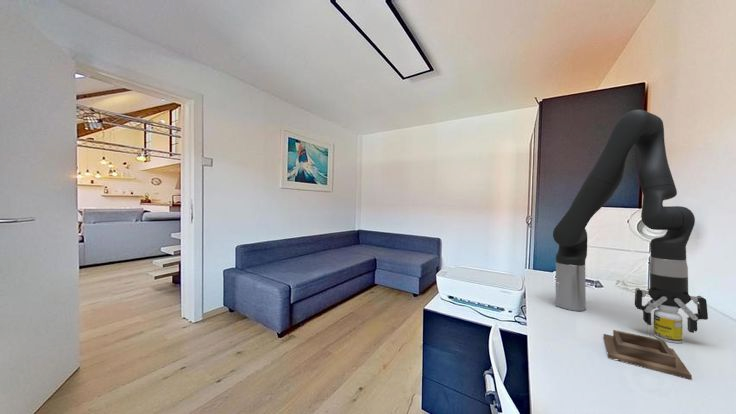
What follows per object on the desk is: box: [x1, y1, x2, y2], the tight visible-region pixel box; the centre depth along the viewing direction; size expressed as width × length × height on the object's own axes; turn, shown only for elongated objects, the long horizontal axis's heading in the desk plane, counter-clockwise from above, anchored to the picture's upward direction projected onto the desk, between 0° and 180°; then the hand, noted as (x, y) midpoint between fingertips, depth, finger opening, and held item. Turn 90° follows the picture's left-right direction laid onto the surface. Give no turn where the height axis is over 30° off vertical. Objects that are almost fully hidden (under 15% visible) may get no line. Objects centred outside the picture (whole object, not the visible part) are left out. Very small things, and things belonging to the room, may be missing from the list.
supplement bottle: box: [653, 304, 683, 344], centre depth 78 cm, size 6×6×10 cm
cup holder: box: [603, 329, 693, 381], centre depth 70 cm, size 14×14×4 cm
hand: (669, 327), depth 78 cm, fingers open, 8 cm apart
